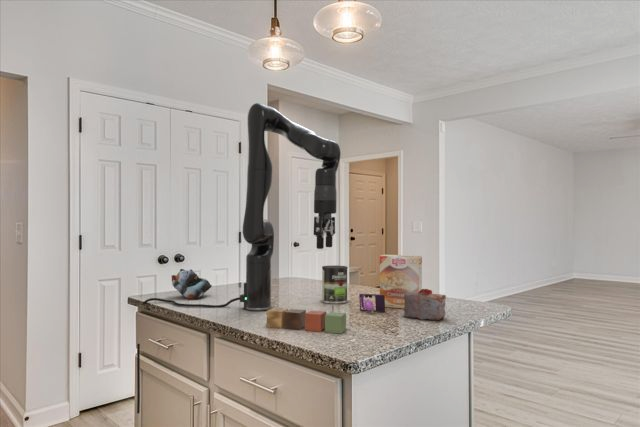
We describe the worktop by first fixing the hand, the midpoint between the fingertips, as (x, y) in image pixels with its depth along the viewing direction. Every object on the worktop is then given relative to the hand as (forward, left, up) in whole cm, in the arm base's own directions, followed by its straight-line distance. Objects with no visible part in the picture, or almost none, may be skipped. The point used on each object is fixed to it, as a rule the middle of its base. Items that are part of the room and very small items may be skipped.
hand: (324, 247), depth 149 cm
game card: (+12, +16, -24) cm, 31 cm away
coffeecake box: (+20, +30, -24) cm, 43 cm away
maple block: (-11, -14, -24) cm, 29 cm away
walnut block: (-5, -14, -24) cm, 28 cm away
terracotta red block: (+2, -14, -24) cm, 27 cm away
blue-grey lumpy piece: (-67, +20, -24) cm, 74 cm away
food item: (+31, +13, -24) cm, 42 cm away
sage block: (+8, -14, -24) cm, 29 cm away
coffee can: (-7, +32, -24) cm, 40 cm away
